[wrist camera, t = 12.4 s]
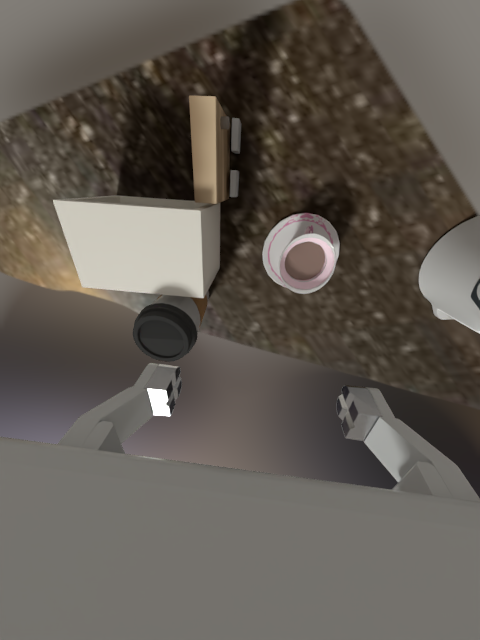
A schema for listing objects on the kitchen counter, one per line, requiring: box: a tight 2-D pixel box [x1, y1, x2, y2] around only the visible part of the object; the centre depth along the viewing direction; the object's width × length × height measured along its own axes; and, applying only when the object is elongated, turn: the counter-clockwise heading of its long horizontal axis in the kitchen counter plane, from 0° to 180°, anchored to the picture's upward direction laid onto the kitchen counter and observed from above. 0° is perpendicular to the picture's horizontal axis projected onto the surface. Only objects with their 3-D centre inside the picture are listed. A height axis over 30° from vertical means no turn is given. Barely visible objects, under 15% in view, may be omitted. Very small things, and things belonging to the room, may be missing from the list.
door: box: [189, 96, 230, 204], centre depth 26 cm, size 3×8×10 cm, turn 178°
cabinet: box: [53, 118, 241, 298], centre depth 29 cm, size 19×19×12 cm
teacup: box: [262, 213, 340, 294], centre depth 33 cm, size 12×12×6 cm
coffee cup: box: [133, 291, 209, 362], centre depth 35 cm, size 8×8×15 cm
